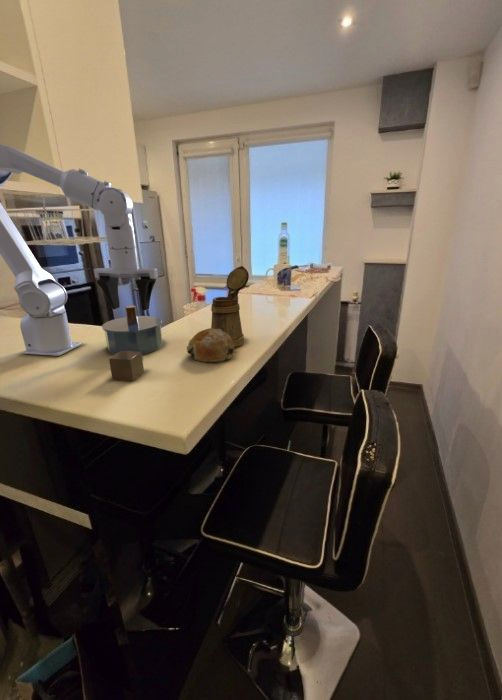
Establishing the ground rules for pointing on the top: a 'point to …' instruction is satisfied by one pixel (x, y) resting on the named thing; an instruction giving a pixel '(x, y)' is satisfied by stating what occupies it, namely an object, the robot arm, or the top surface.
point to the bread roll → (211, 346)
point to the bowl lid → (131, 323)
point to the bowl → (134, 341)
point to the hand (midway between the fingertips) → (130, 308)
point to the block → (126, 365)
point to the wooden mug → (230, 307)
